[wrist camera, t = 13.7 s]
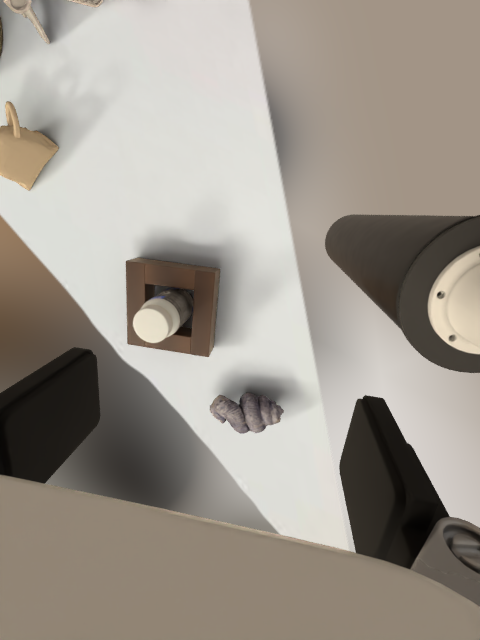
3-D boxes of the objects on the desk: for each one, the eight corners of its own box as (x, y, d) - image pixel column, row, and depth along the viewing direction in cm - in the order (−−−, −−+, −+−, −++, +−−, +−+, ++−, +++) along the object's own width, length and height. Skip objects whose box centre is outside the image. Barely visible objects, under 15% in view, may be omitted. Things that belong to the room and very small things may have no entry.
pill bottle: (175, 278, 39) (148, 295, 31) (201, 305, 40) (181, 328, 32) (152, 302, 41) (120, 323, 33) (177, 327, 41) (152, 354, 34)
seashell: (216, 402, 46) (283, 396, 44) (215, 440, 43) (287, 435, 41) (205, 389, 41) (279, 382, 40) (203, 430, 39) (283, 424, 37)
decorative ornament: (3, 164, 37) (-40, 157, 32) (40, 109, 35) (-1, 92, 30) (29, 191, 38) (-10, 188, 33) (67, 139, 35) (31, 127, 30)
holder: (220, 268, 38) (215, 272, 35) (213, 347, 42) (208, 357, 39) (137, 257, 39) (125, 260, 36) (137, 335, 43) (127, 344, 40)
